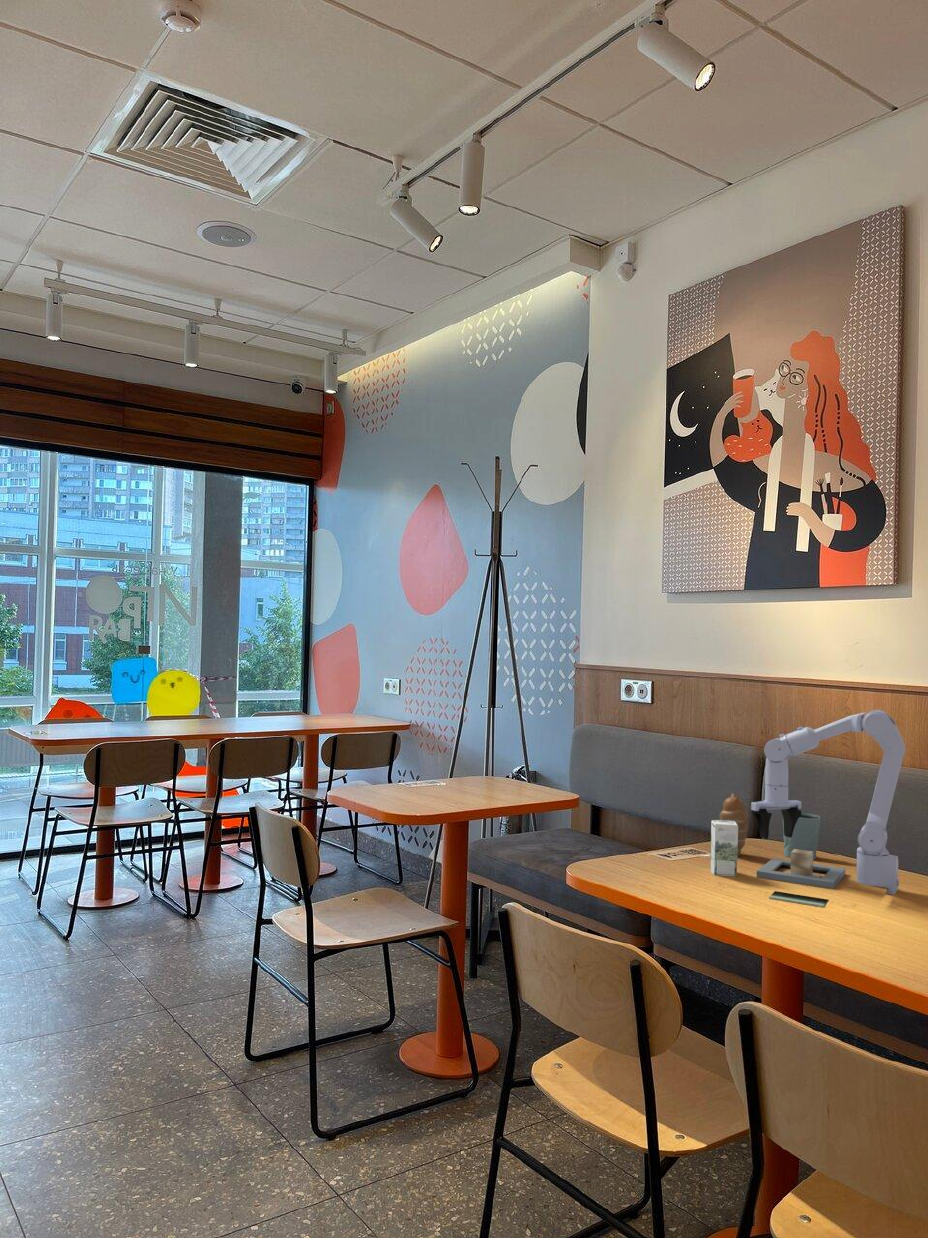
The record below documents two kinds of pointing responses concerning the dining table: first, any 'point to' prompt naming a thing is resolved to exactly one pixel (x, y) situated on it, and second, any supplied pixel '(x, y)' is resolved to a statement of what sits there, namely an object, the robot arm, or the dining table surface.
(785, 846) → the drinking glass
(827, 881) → the box
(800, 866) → the maple block
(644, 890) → the dining table surface
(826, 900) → the zone pad
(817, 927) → the dining table surface
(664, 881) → the dining table surface
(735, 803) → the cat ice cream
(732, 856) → the syrup box
